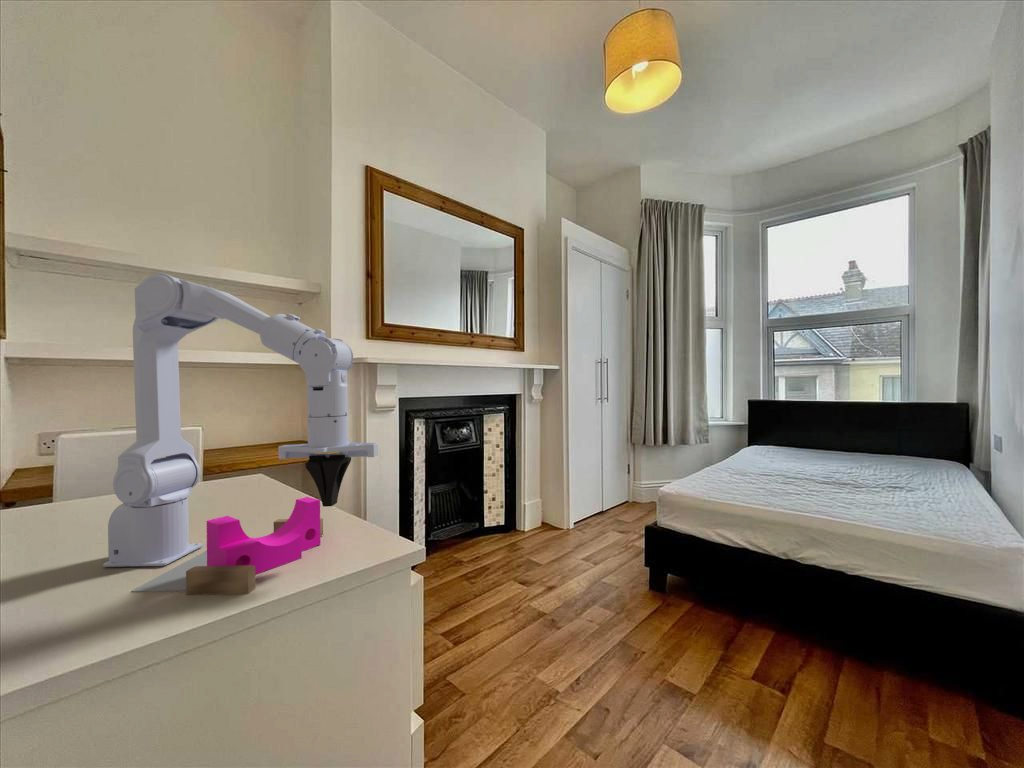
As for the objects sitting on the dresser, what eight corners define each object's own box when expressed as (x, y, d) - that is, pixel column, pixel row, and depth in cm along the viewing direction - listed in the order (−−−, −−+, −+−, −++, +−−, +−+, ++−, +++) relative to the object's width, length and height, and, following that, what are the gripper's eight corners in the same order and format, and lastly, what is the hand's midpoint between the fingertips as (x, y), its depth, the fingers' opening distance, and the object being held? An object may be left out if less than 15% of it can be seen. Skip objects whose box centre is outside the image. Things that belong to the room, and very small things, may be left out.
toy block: (226, 584, 56) (226, 528, 56) (207, 573, 60) (206, 520, 60) (329, 547, 69) (328, 502, 69) (307, 540, 72) (307, 496, 72)
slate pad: (131, 595, 55) (130, 591, 55) (229, 541, 74) (229, 538, 74) (190, 594, 55) (190, 590, 55) (273, 540, 74) (273, 537, 74)
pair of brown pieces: (186, 594, 54) (185, 571, 54) (278, 536, 75) (278, 519, 75) (248, 593, 54) (247, 570, 54) (323, 535, 75) (322, 518, 75)
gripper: (265, 419, 61) (267, 513, 60) (365, 416, 60) (367, 511, 60) (291, 415, 68) (293, 500, 68) (381, 413, 67) (383, 498, 67)
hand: (330, 504), depth 64 cm, fingers closed
